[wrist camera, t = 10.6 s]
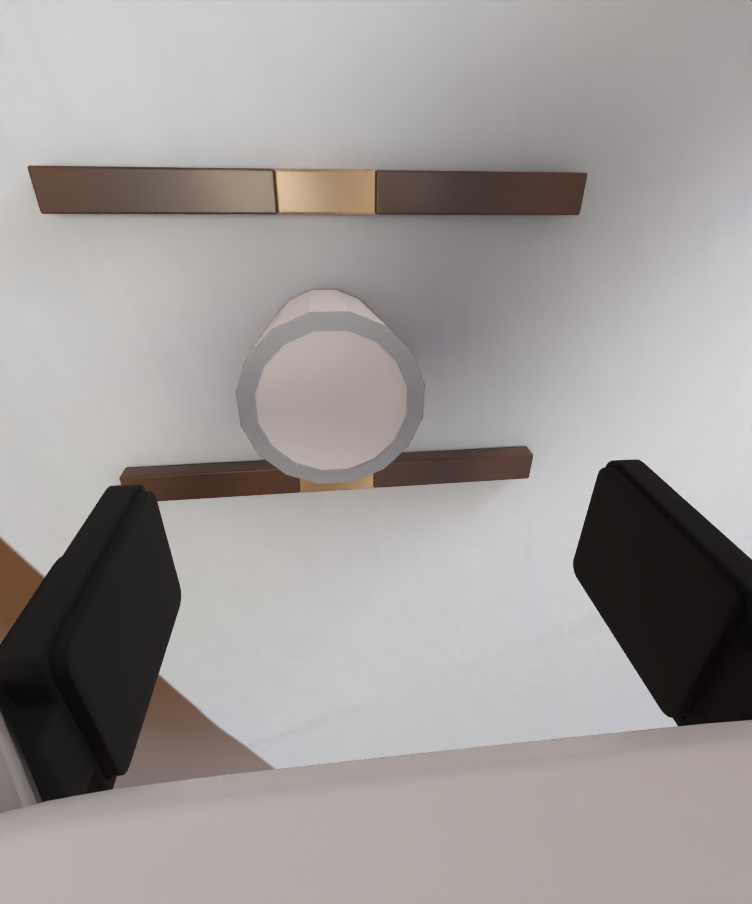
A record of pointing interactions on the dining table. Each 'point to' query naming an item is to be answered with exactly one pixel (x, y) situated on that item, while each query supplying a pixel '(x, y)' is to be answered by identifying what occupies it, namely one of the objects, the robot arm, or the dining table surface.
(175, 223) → the dining table surface
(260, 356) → the white cup
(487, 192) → the guide rails
